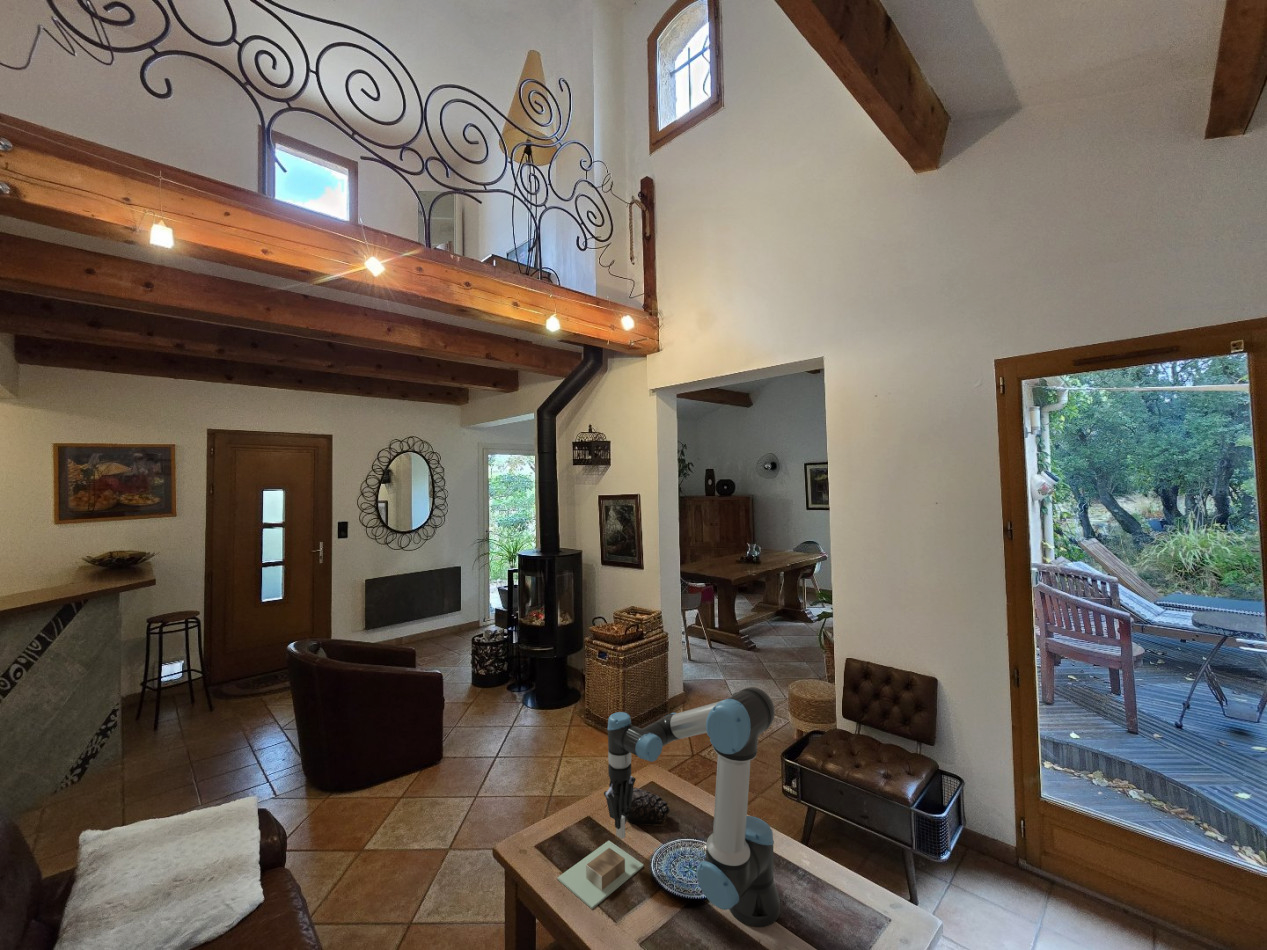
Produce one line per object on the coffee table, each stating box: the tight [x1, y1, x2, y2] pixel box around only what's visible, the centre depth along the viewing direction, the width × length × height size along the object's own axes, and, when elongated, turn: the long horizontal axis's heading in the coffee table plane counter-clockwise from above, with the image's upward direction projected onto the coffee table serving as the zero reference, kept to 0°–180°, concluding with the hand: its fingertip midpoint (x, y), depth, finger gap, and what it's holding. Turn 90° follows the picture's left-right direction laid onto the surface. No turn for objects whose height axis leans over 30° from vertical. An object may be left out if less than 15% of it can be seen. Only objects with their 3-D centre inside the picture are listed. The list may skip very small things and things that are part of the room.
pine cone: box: [626, 786, 671, 827], centre depth 184 cm, size 10×18×10 cm, turn 83°
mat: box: [556, 840, 644, 910], centre depth 158 cm, size 16×22×1 cm
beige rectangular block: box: [586, 848, 625, 891], centre depth 156 cm, size 7×4×10 cm
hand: (620, 836), depth 164 cm, fingers closed
